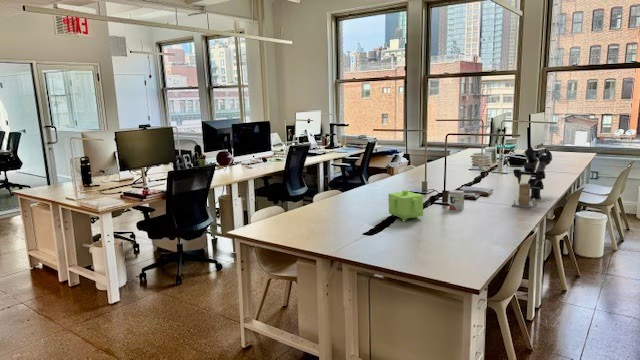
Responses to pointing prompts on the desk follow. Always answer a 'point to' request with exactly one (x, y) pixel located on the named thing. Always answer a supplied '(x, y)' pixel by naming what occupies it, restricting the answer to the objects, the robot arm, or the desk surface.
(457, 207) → the ink box
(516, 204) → the peg plate
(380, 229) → the desk surface
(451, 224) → the desk surface
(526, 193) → the walnut block
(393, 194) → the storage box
